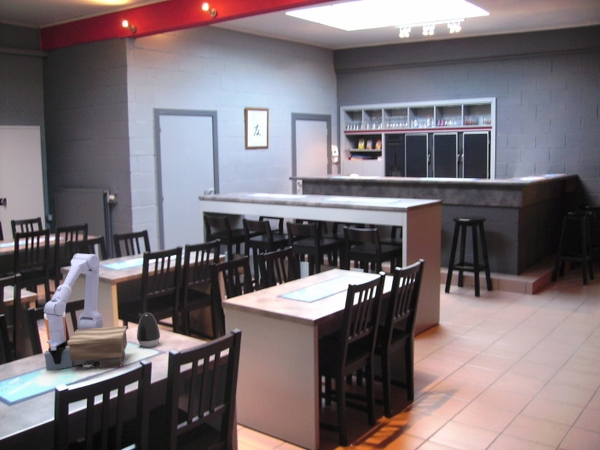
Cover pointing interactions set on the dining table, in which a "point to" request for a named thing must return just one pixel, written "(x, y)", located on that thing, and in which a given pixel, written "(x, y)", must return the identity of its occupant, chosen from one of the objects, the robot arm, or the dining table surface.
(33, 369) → the dining table surface
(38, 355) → the dining table surface
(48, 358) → the grey block with tab
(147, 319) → the black egg-shaped piece
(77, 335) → the cabinet
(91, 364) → the steel token
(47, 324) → the shaker bottle
